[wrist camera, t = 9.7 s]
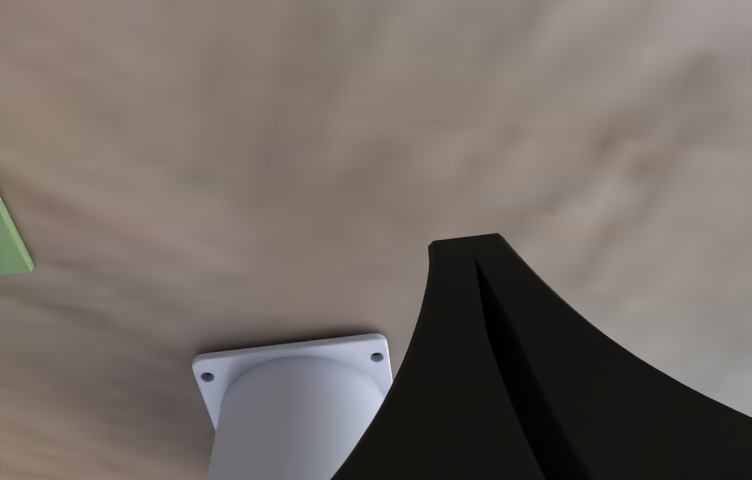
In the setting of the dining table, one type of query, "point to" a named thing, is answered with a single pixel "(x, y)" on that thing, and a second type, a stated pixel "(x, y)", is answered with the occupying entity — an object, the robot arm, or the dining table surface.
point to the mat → (12, 247)
